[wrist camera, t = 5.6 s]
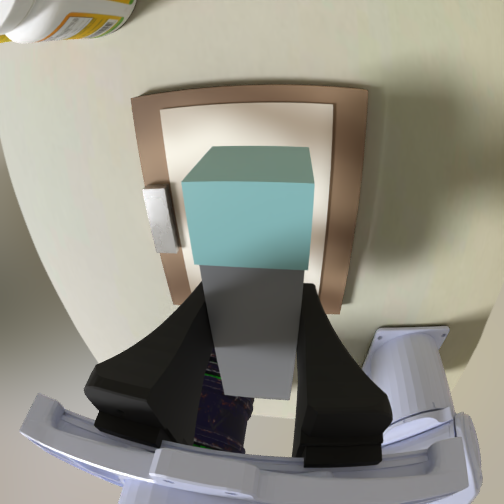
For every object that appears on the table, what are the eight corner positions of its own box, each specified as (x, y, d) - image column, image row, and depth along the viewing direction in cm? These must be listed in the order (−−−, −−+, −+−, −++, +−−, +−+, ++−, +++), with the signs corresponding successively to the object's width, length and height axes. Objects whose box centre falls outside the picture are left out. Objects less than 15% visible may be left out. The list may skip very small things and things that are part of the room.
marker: (293, 360, 19) (289, 412, 16) (234, 356, 19) (224, 406, 16) (308, 146, 11) (314, 183, 8) (212, 146, 12) (180, 182, 9)
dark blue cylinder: (170, 374, 35) (135, 482, 23) (171, 327, 29) (121, 465, 17) (248, 395, 35) (229, 506, 23) (268, 352, 30) (249, 497, 18)
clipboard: (338, 305, 25) (340, 321, 23) (176, 296, 27) (170, 310, 25) (364, 89, 15) (371, 91, 14) (137, 96, 17) (124, 100, 16)
